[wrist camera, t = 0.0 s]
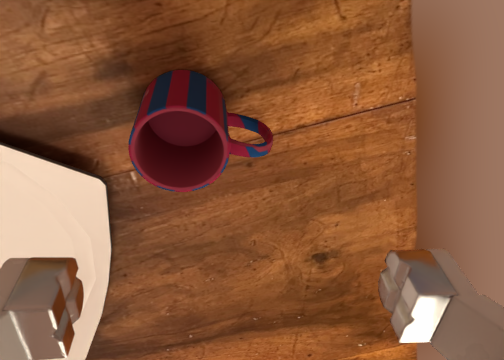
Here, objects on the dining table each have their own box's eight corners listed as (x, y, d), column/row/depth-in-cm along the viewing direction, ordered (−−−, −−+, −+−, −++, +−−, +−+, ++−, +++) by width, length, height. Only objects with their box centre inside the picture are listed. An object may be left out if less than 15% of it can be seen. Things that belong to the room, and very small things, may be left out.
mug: (145, 61, 31) (132, 97, 25) (273, 86, 33) (287, 124, 27) (138, 138, 34) (125, 185, 29) (254, 157, 36) (262, 203, 31)
